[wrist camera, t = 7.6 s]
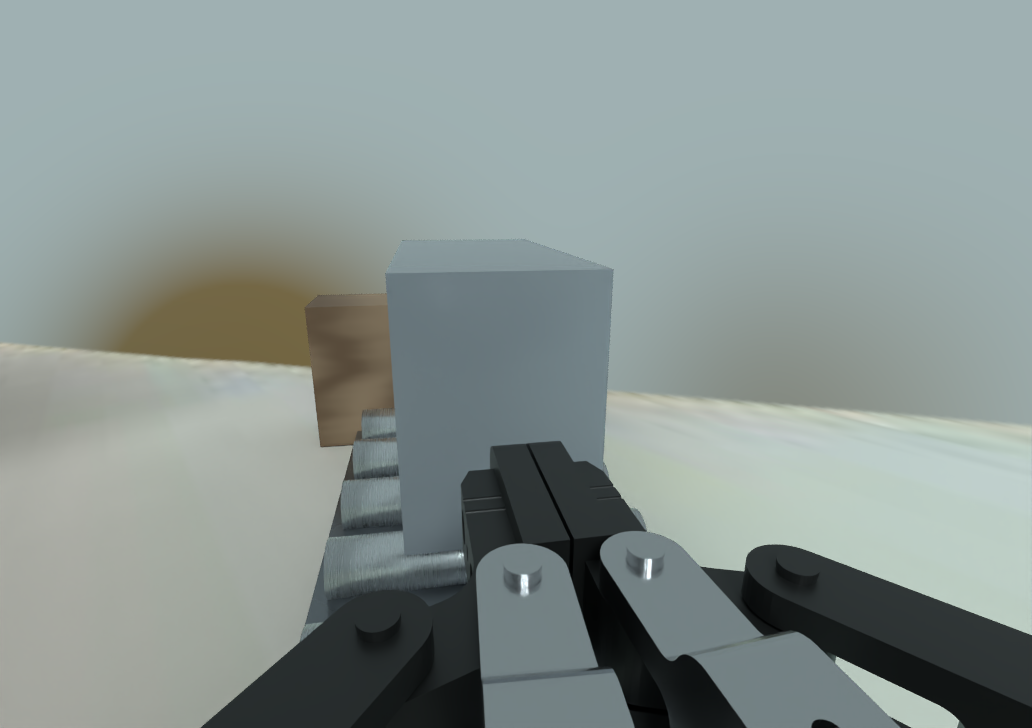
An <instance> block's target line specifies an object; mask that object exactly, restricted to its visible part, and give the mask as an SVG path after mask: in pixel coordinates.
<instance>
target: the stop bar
mask: <svg viewBox="0 0 1032 728" xmlns="http://www.w3.org/2000/svg"><path fill="white" fill-rule="evenodd" d="M305 313H306V323H307V331H308V340H309V349H310V357H311V367H312V376H313V385H314V394H315V402H316V411H317V420H318V429H319V438H320V446H321V447H325V446H339V445H353V444H354V440H355V438H356V434H357V431H362V426H361V420H362V410H366V409H383V408H395V407H394V392H393V377H392V363H391V348H390V333H389V318H388V304H387V294H348V295H318V296H317V297H316V298H315V299H314V300H312V301H311V302H310V303H309V304H308V305H307V306H306V307H305Z"/></svg>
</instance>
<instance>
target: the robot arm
mask: <svg viewBox="0 0 1032 728" xmlns="http://www.w3.org/2000/svg"><path fill="white" fill-rule="evenodd" d="M461 508H462V540H463V553H464V560H465V566H466V574H467V580H468V583H467V584H466V585H465V586H464V587H463V588H462V589H461V590H460V591H459V592H458V593H456V594H455V595H453V596H452V597H450V598H448V599H446V600H444V601H442V602H439V603H437V604H434V605H432V606H428V605H427V604H426V603H425V601H424V600H422V599H421V598H420V597H418V596H416V595H414V594H413V593H410V592H406V591H402V590H379V591H374V592H370V593H367V594H363V595H361V596H359V597H356V598H354V599H352V600H351V601H349V602H347V603H346V604H344V605H343V606H342V607H340V608H339V609H338V610H337V611H336V612H335V613H333V614H332V615H331V616H330V617H329V618H328V619H326V620H325V621H324V622H323V623H322V624H321V625H319V626H318V627H317V628H316V629H315V630H314V631H312V632H311V633H310V634H309V635H308V636H307V637H305V638H304V639H303V640H302V641H301V642H300V643H298V644H297V645H296V646H295V647H294V648H293V649H292V650H290V651H289V652H288V653H287V654H286V655H285V656H283V657H282V658H281V659H280V660H279V661H278V662H276V663H275V664H274V665H273V666H272V667H271V668H269V669H268V670H267V671H266V672H265V673H264V674H262V675H261V676H260V677H259V678H258V679H257V680H255V681H254V682H253V683H252V684H251V685H250V686H248V687H247V688H246V689H245V690H244V691H243V692H242V693H240V694H239V695H238V696H237V697H236V698H235V699H233V700H232V701H231V702H230V703H229V704H228V705H226V706H225V707H224V708H223V709H222V710H221V711H219V712H218V713H217V714H216V715H215V716H214V717H212V718H211V719H210V720H209V721H208V722H207V723H205V724H204V725H203V726H202V727H201V728H911V727H909V726H907V725H905V724H903V723H901V722H899V721H897V720H895V719H893V718H891V717H889V716H888V715H887V714H886V713H885V712H884V711H883V710H882V709H881V708H880V707H879V706H878V705H877V704H876V703H875V702H874V701H873V700H872V699H871V698H870V697H869V696H868V695H867V694H866V693H865V692H864V691H863V690H862V689H861V688H860V687H859V686H858V685H857V684H856V683H855V682H854V681H853V680H852V679H851V678H850V677H849V676H848V675H846V674H845V673H844V672H843V671H842V670H841V669H840V668H839V667H838V666H837V665H836V664H835V660H836V656H837V657H839V658H841V659H843V660H845V661H848V662H850V663H852V664H854V665H856V666H858V667H860V668H862V669H864V670H866V671H869V672H871V673H873V674H875V675H877V676H879V677H881V678H883V679H885V680H887V681H890V682H892V683H894V684H896V685H898V686H900V687H902V688H904V689H906V690H908V691H910V692H913V693H915V694H917V695H919V696H921V697H923V698H925V699H927V700H929V701H931V702H934V703H936V704H938V705H940V706H941V707H943V708H945V709H946V710H948V711H949V712H951V713H952V714H953V715H954V716H955V717H956V718H957V719H958V720H959V724H958V727H957V728H1032V635H1029V634H1027V633H1024V632H1022V631H1019V630H1016V629H1014V628H1011V627H1008V626H1006V625H1003V624H1000V623H998V622H995V621H992V620H990V619H987V618H984V617H982V616H979V615H976V614H974V613H971V612H969V611H966V610H963V609H961V608H958V607H955V606H953V605H950V604H947V603H945V602H942V601H939V600H937V599H934V598H931V597H929V596H926V595H923V594H921V593H918V592H915V591H913V590H910V589H908V588H905V587H902V586H900V585H897V584H894V583H892V582H889V581H886V580H884V579H881V578H878V577H876V576H873V575H870V574H868V573H865V572H862V571H860V570H857V569H854V568H852V567H849V566H847V565H844V564H841V563H839V562H836V561H833V560H831V559H828V558H825V557H823V556H820V555H817V554H815V553H812V552H809V551H806V550H803V549H800V548H797V547H792V546H787V545H764V546H760V547H757V548H755V549H753V550H752V551H751V552H750V553H749V554H748V555H747V558H746V564H745V571H744V572H743V571H733V570H724V569H714V568H706V567H700V566H699V565H698V564H697V563H696V562H695V561H694V560H693V559H692V558H691V557H690V555H689V554H688V553H687V552H686V551H685V550H684V549H683V548H682V547H681V546H680V545H678V544H677V543H675V542H674V541H672V540H670V539H668V538H666V537H664V536H661V535H658V534H655V533H650V532H646V530H645V529H644V527H643V526H642V525H641V523H640V522H639V520H638V519H637V518H636V516H635V515H634V513H633V512H632V511H631V509H630V508H629V506H628V505H627V504H626V502H625V501H624V499H621V495H620V494H619V492H618V491H617V489H616V488H615V487H613V484H612V482H611V481H610V480H609V478H608V477H607V475H606V474H605V473H604V471H602V470H601V469H599V468H597V467H596V466H594V465H592V464H591V463H589V462H587V461H578V462H574V461H573V460H572V458H571V457H570V455H569V453H568V452H567V450H566V448H565V447H564V445H563V444H562V442H561V441H548V442H535V443H527V444H525V443H524V444H511V445H498V446H491V448H490V469H485V470H473V471H468V473H467V475H466V476H465V478H464V480H463V481H462V483H461Z"/></svg>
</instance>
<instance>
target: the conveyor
mask: <svg viewBox="0 0 1032 728" xmlns="http://www.w3.org/2000/svg"><path fill="white" fill-rule="evenodd" d="M361 426H362V431H357V434H356V438H355V440H354V444H353V449H352V453H351V456H350V460H349V464H348V468H347V471H346V475H345V479H344V481H343V484H342V490H341V494H340V497H339V501H338V505H337V508H336V512H335V516H334V519H333V523H332V527H331V531H330V534H329V538H328V540H327V543H326V547H325V553H324V557H323V560H322V564H321V568H320V571H319V575H318V579H317V583H316V586H315V590H314V594H313V597H312V601H311V605H310V609H309V612H308V616H307V620H306V623H305V627H304V629H303V632H302V635H301V639H300V642H301V641H302V640H303V639H304V638H305V637H307V636H308V635H309V634H310V633H311V632H312V631H314V630H315V629H316V628H317V627H318V626H319V625H321V624H322V623H323V622H324V621H325V620H326V619H328V618H329V617H330V616H331V615H332V614H333V613H335V612H336V611H337V610H338V609H339V608H340V607H342V606H343V605H344V604H346V603H347V602H349V601H351V600H352V599H354V598H356V597H359V596H361V595H363V594H367V593H370V592H374V591H379V590H402V591H406V592H410V593H413V594H414V595H416V596H418V597H420V598H421V599H422V600H424V601H425V603H426V604H427V605H428V606H432V605H434V604H437V603H439V602H442V601H444V600H446V599H448V598H450V597H452V596H453V595H455V594H456V593H458V592H459V591H460V590H461V589H462V588H463V587H464V586H465V585H466V584H467V583H468V580H467V574H466V566H465V560H464V553H463V550H455V551H446V552H436V553H426V554H417V555H407V556H405V554H404V539H403V525H402V510H401V495H400V480H399V466H398V451H397V436H396V422H395V408H383V409H366V410H362V420H361ZM603 471H604V473H605V474H606V475H607V477H608V478H609V475H608V471H607V468H606V465H605V464H604V462H603ZM630 509H631V511H632V512H633V513H634V515H635V516H636V518H637V519H638V520H639V522H640V523H641V525H642V526H643V527H644V529H645V530H646V526H645V523H644V520H643V518H642V516H641V514H640V512H639V511H638V510H637V509H636V508H630ZM646 532H647V530H646Z"/></svg>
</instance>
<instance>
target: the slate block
mask: <svg viewBox="0 0 1032 728" xmlns="http://www.w3.org/2000/svg"><path fill="white" fill-rule="evenodd" d="M385 274H386V289H387V304H388V318H389V333H390V348H391V363H392V377H393V392H394V407H395V422H396V436H397V451H398V466H399V480H400V495H401V510H402V525H403V539H404V554H405V556H407V555H417V554H426V553H436V552H446V551H455V550H463V540H462V508H461V483H462V481H463V480H464V478H465V476H466V475H467V473H468V471H473V470H485V469H490V448H491V446H498V445H511V444H524V443H525V444H527V443H535V442H548V441H561V442H562V444H563V445H564V447H565V448H566V450H567V452H568V453H569V455H570V457H571V458H572V460H573V461H574V462H578V461H587V462H589V463H591V464H592V465H594V466H596V467H597V468H599V469H601V470H602V471H603V454H604V436H605V417H606V399H607V380H608V362H609V343H610V325H611V307H612V305H611V304H612V288H613V269H611V268H608V267H605V266H602V265H599V264H597V263H593V262H591V261H588V260H585V259H582V258H579V257H576V256H573V255H570V254H567V253H564V252H561V251H558V250H555V249H552V248H549V247H546V246H543V245H540V244H537V243H534V242H531V241H528V240H525V239H506V240H403V241H402V242H401V244H400V246H399V248H398V250H397V252H396V253H395V256H394V257H393V260H392V261H391V263H390V265H389V267H388V269H387V271H386V273H385Z"/></svg>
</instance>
